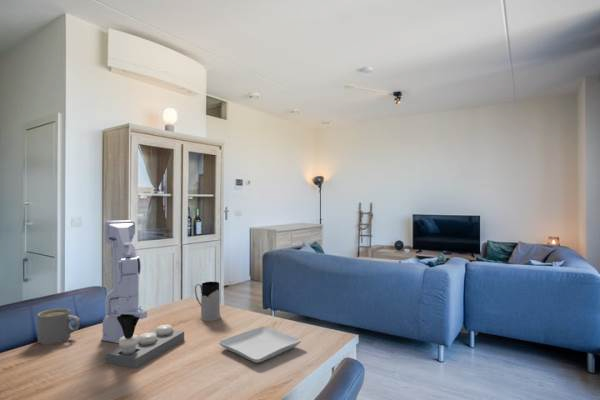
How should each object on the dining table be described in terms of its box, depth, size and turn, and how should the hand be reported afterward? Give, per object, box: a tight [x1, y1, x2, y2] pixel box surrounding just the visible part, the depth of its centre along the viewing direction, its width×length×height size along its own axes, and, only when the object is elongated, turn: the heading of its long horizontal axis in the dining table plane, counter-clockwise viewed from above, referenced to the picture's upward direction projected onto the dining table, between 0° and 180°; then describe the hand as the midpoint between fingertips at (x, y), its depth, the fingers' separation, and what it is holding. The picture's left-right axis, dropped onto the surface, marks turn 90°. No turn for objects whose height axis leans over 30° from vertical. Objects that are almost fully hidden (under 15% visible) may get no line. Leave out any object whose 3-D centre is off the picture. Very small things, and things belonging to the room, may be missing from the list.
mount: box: [104, 328, 185, 369], centre depth 125 cm, size 12×24×3 cm, turn 161°
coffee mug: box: [37, 307, 81, 345], centre depth 134 cm, size 13×10×10 cm
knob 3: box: [155, 324, 174, 336], centre depth 133 cm, size 6×6×5 cm
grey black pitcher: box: [194, 281, 222, 322], centre depth 160 cm, size 9×14×15 cm, turn 57°
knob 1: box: [118, 334, 139, 356], centre depth 117 cm, size 6×6×5 cm
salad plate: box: [218, 326, 302, 364], centre depth 127 cm, size 21×21×3 cm
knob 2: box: [138, 332, 157, 345], centre depth 125 cm, size 6×6×5 cm
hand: (128, 337), depth 117 cm, fingers closed
